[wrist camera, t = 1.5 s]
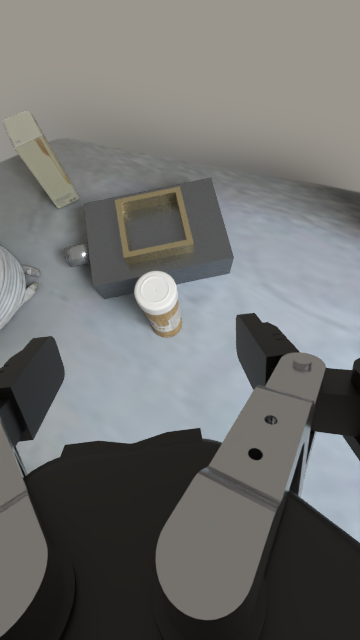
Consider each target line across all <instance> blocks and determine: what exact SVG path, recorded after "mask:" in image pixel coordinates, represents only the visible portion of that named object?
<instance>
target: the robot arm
mask: <svg viewBox="0 0 360 640" xmlns="http://www.w3.org/2000/svg"><path fill="white" fill-rule="evenodd" d="M236 349H237V355H238V359H239V361H240V363H241V365H242V367H243V369H244V371H245V373H246V376H247V378H248V380H249V382H250V384H251V386H252V388H253V390H254V391H253V393H252V394H251V396H250V398H249V399H248V401H247V403H246V404H245V406H244V408H243V409H242V411H241V413H240V414H239V416H238V418H237V419H236V421H235V423H234V424H233V426H232V428H231V429H230V431H229V433H228V434H227V436H226V438H225V439H224V441H223V443H221V442H218V441H214V440H209V439H202V435H201V430H200V428H196V429H188V430H180V431H172V432H166V433H163V434H160V435H157V436H154V437H151V438H148V439H145V440H142V441H140V442H137V443H133V444H127V443H116V442H106V441H93V442H85V443H77V444H69V445H65V446H64V449H63V451H62V454H61V457H59V458H56V459H54V460H52V461H49V462H47V463H45V464H43V465H42V466H40V467H38V468H37V469H35V470H33V471H32V472H30V473H29V474H27V471H26V469H25V467H24V464H23V462H22V459H21V457H20V455H19V452H18V450H17V448H16V445H17V443H18V442H19V441H27V440H33V439H34V437H35V435H36V433H37V431H38V429H39V427H40V426H41V424H42V422H43V420H44V418H45V416H46V414H47V412H48V410H49V408H50V406H51V404H52V402H53V400H54V398H55V396H56V394H57V392H58V390H59V388H60V386H61V384H62V382H63V380H64V375H65V372H64V366H63V363H62V360H61V356H60V353H59V350H58V347H57V344H56V341H55V339H54V338H53V337H52V336H48V337H40V338H33V339H32V340H31V341H30V342H29V343H28V344H27V345H26V347H25V348H24V349H23V350H22V351H20V352H19V353H17V354H16V355H14V356H13V357H11V358H10V359H9V360H8V361H7V362H6V363H5V365H4V367H2V368H1V369H0V640H360V543H359V542H358V541H357V540H355V539H354V538H353V537H351V536H350V535H349V534H347V533H346V532H345V531H343V530H342V529H341V528H339V527H338V526H337V525H336V524H334V523H333V522H332V521H330V520H329V519H328V518H326V517H325V516H324V515H322V514H321V513H320V512H318V511H317V510H316V509H315V508H313V507H312V506H311V505H309V504H308V503H307V502H305V501H304V500H303V499H301V493H302V488H303V482H304V478H305V473H306V469H307V466H308V462H309V458H310V454H311V450H312V447H313V443H314V439H315V435H316V432H324V433H331V434H339V435H343V437H344V438H345V440H346V441H347V443H348V444H349V446H350V447H351V449H352V450H353V452H354V453H355V455H356V456H357V458H358V459H359V460H360V358H359V359H357V360H355V362H354V364H353V369H352V370H342V369H330V368H326V366H325V363H324V362H323V361H322V360H321V359H319V358H318V357H316V356H314V355H311V354H307V353H300V352H299V351H298V350H297V349H296V347H295V346H294V345H293V344H292V343H291V342H290V341H289V340H288V339H287V337H286V336H285V335H284V334H282V332H281V331H280V330H279V329H278V327H276V326H274V325H272V324H270V323H268V322H266V323H262V322H261V320H260V319H259V318H258V317H257V316H256V314H255V313H250V314H241V315H237V317H236Z"/></svg>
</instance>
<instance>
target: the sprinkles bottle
mask: <svg viewBox="0 0 360 640" xmlns="http://www.w3.org/2000/svg"><path fill="white" fill-rule="evenodd" d="M134 295H135V299H136V301H137V303H138V305H139V306H140V308H141V309H142V310H143V311H145V314H146V316H147V317H148V319H149V321H150V323H151V325H152V327H153V329H154V331H155V332H156V333H157V334H158V335H159V336H161V337H166V338H168V337H172V336H174V335H176V334H177V333H178V332H179V331H180V329H181V327H182V319H181V314H180V308H179V303H178V299H177V298H178V291H177V286H176V283H175V281H174V279H173V278H172V277H171V276H170V275H168V274H167V273H165V272H162V271H151V272H148V273H146V274H144V275H142V276H141V277H140V278H139V279H138V281H137V283H136V285H135V289H134Z"/></svg>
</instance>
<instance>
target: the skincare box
mask: <svg viewBox="0 0 360 640" xmlns="http://www.w3.org/2000/svg"><path fill="white" fill-rule="evenodd" d="M2 123H3V126H4V128H5V130H6V132H7V134H8V136H9V138H10V140H11V143H12V145H13V147H14V149H15V150H16V152H17V153H18V154H19V156H20V157H21V159H22V160H23V161H24V163H25V164H26V165H27V167H28V168H29V170H30V171H31V172H32V174H33V175H34V176H35V178H36V179H37V181H38V182H39V183H40V185H41V186H42V188H43V189H44V190H45V192H46V193H47V194H48V196H49V197H50V199H51V200H52V201H53V203H54V204H55V206H56V207H57V208H58V209H59V208H62V207H64V206H66V205H68V204H70V203H72V202H74V201H76V200H78V199H79V197H78V194H77V192H76V190H75V188H74V186H73V184H72V183H71V181H70V179H69V177H68V176H67V174H66V172H65V170H64V169H63V167H62V165H61V164H60V162H59V160H58V159H57V157H56V155H55V153H54V152H53V150H52V148H51V146H50V145H49V143H48V141H47V140H46V138H45V136H44V134H43V132H42V131H41V129H40V127H39V125H38V124H37V122H36V120H35V118H34V117H33V115H32V114H31V112H30V110H29V109H28V110H26V111H24V112H21V113H19V114H17V115H14V116H12V117H9V118H7V119H4V120H3V121H2Z"/></svg>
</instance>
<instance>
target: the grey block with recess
mask: <svg viewBox="0 0 360 640" xmlns="http://www.w3.org/2000/svg"><path fill="white" fill-rule="evenodd" d="M84 213H85V222H86V230H87V239H88V243H85V244H80V245H75V246H70V247H65V249H64V254H65V258H66V261H67V263H68V264H69V266H70V267H73V266H78V265H83V264H88V263H90V265H91V274H92V282H93V287H94V288H95V289H96V290H97V291H98V293H99V294H100V295H101V296H102V297H103V298H104V299H107V298H112V297H117V296H122V295H127V294H132V293H134V289H135V285H136V283H137V281H138V279H139V278H140V277H141V276H142V275H144V274H146V273H148V272H151V271H162V272H165V273H167V274H168V275H170V276H171V277H172V278H173V279H174V281H175V283H176V284H180V283H185V282H190V281H195V280H199V279H204V278H209V277H214V276H219V275H224V274H228V273H230V270H231V266H232V262H233V258H234V257H233V253H232V250H231V246H230V243H229V239H228V236H227V232H226V229H225V225H224V222H223V218H222V215H221V211H220V208H219V204H218V200H217V197H216V193H215V190H214V186H213V183H212V179H211V178H207V179H202V180H197V181H193V182H188V183H183V184H178V185H173V186H168V187H164V188H159V189H154V190H149V191H144V192H139V193H134V194H130V195H125V196H120V197H115V198H110V199H105V200H100V201H96V202H91V203H86V204H84Z"/></svg>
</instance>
